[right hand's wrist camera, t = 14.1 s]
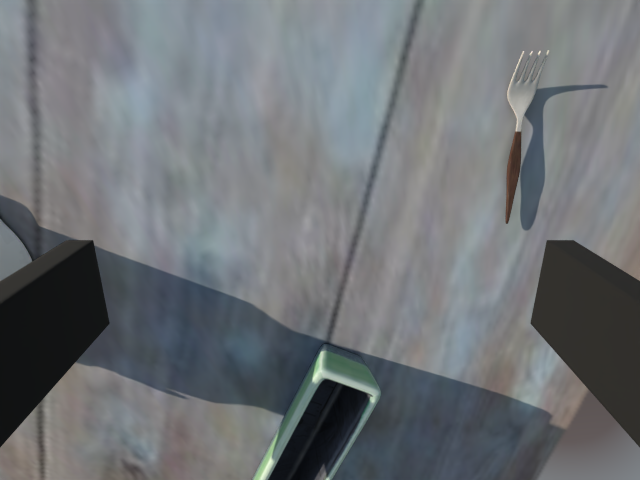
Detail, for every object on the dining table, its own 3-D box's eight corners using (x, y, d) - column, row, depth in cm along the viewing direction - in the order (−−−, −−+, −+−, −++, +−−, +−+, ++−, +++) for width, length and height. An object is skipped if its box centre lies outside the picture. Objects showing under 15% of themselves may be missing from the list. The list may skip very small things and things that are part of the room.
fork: (491, 222, 43) (499, 228, 41) (511, 52, 38) (521, 51, 36) (517, 221, 43) (526, 227, 41) (540, 51, 38) (552, 50, 36)
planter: (319, 329, 48) (318, 369, 41) (376, 350, 49) (384, 393, 42) (236, 492, 57) (225, 547, 50) (286, 507, 58) (282, 564, 51)
